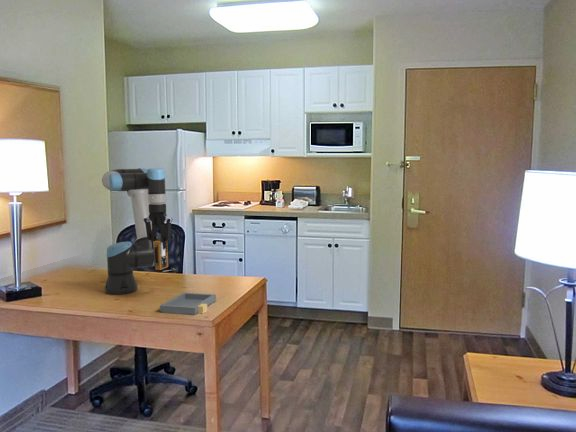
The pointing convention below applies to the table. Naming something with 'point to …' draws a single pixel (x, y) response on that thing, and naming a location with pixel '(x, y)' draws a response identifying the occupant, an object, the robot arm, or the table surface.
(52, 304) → the table surface
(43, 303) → the table surface
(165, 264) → the multimeter
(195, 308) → the tray
